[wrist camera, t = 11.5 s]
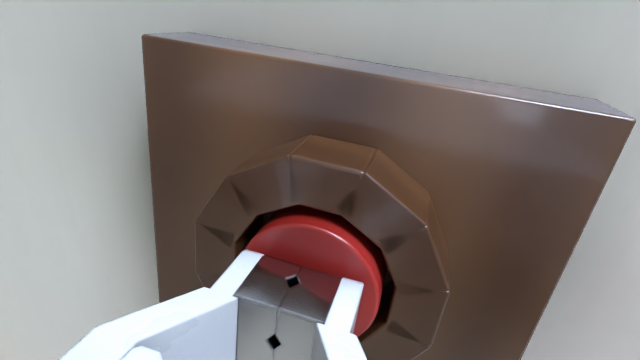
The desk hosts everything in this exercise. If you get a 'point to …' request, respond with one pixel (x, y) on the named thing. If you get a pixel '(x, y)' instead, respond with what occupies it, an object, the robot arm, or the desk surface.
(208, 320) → the robot arm
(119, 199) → the desk surface
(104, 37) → the desk surface
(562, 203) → the block
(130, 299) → the desk surface
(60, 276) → the desk surface
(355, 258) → the bell button
